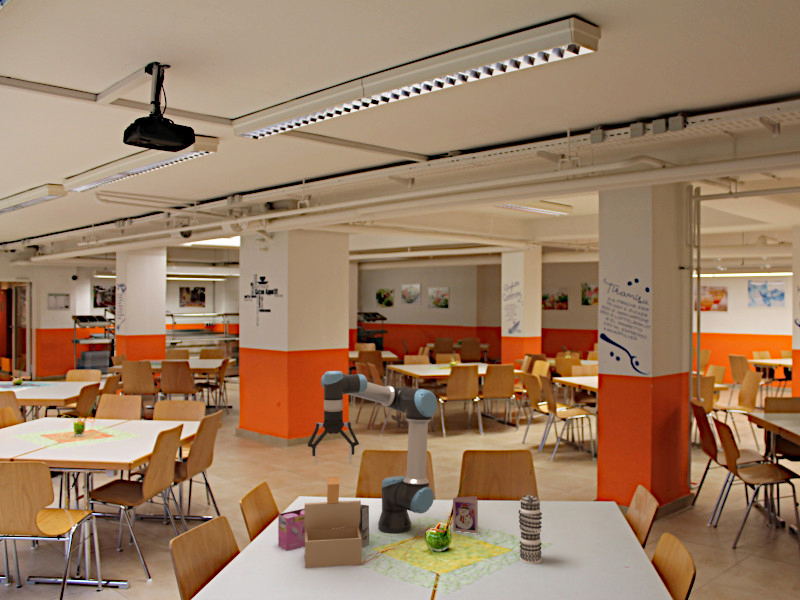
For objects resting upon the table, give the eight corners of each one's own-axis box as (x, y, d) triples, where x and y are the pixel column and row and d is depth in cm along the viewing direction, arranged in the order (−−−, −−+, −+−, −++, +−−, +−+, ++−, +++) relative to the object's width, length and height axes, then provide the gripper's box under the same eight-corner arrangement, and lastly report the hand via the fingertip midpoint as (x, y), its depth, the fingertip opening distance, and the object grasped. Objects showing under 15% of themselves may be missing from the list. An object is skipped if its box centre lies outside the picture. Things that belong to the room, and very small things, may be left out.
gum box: (325, 533, 285) (325, 503, 286) (335, 538, 279) (335, 507, 279) (277, 546, 270) (277, 513, 271) (286, 551, 264) (286, 518, 264)
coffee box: (369, 543, 273) (369, 505, 274) (362, 548, 267) (362, 509, 268) (351, 540, 277) (351, 502, 277) (343, 544, 271) (343, 506, 272)
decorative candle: (528, 566, 247) (528, 501, 248) (514, 558, 256) (513, 495, 256) (547, 561, 252) (546, 498, 252) (532, 554, 260) (531, 492, 261)
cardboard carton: (358, 551, 263) (358, 527, 263) (361, 564, 249) (361, 538, 250) (304, 554, 260) (304, 529, 260) (305, 567, 246) (305, 541, 246)
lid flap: (359, 527, 264) (358, 519, 267) (362, 483, 251) (361, 475, 254) (304, 529, 260) (304, 522, 264) (304, 485, 247) (304, 477, 251)
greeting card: (452, 531, 287) (452, 498, 288) (457, 526, 294) (457, 494, 295) (477, 534, 283) (477, 500, 284) (481, 529, 290) (481, 496, 290)
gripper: (363, 408, 260) (363, 460, 259) (301, 409, 256) (301, 462, 255) (365, 410, 252) (365, 464, 252) (301, 412, 248) (301, 466, 248)
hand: (333, 463), depth 253 cm, fingers open, 13 cm apart
